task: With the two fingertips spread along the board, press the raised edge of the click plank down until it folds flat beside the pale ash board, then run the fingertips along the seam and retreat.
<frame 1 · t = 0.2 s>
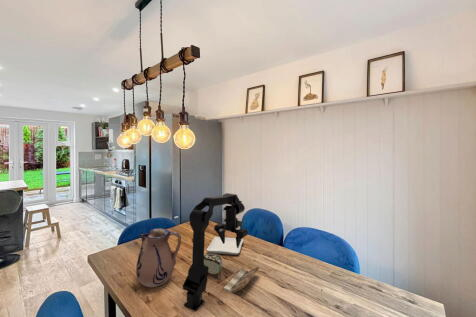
hand: (230, 245, 117), 15 cm above the table, fingers open, 9 cm apart
food container: (214, 275, 115), on the table
ash board: (236, 281, 109), on the table
salad plate: (225, 249, 145), on the table
click plank: (246, 278, 106), point 3 cm above the table, hinge at 40.0°
ceramic pitcher: (159, 281, 109), on the table
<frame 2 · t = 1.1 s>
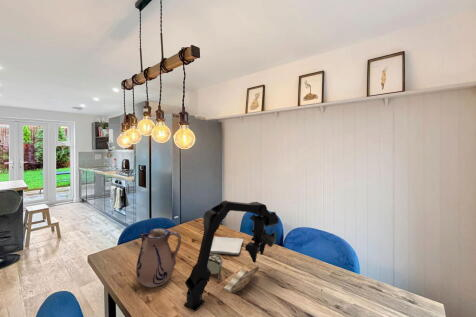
hand: (258, 258, 109), 12 cm above the table, fingers open, 9 cm apart
nothing on the table moved.
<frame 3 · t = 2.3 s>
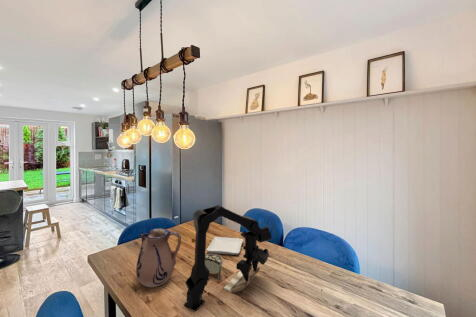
hand: (251, 275, 105), 5 cm above the table
click plank: (246, 279, 106), point 3 cm above the table, hinge at 35.4°, touching gripper
everything else where it was.
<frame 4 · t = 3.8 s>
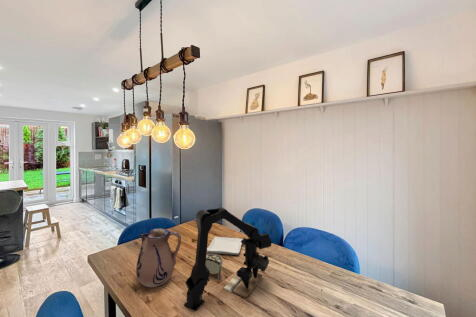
hand: (251, 282, 105), 2 cm above the table
click plank: (248, 283, 106), point 1 cm above the table, hinge at 3.8°, touching gripper
everything else where it was.
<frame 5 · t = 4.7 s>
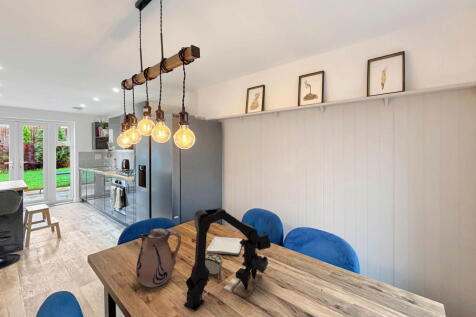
hand: (250, 283, 105), 2 cm above the table, fingers open, 8 cm apart
click plank: (248, 283, 106), point 1 cm above the table, hinge at 1.9°, touching gripper
everything else where it was.
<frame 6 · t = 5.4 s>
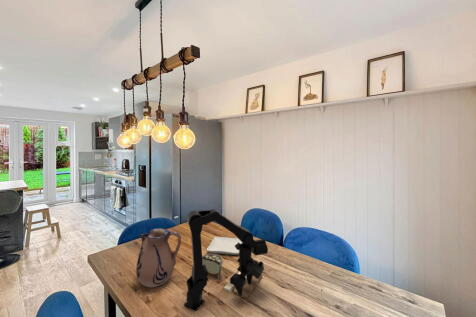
hand: (245, 289, 101), 1 cm above the table, fingers open, 9 cm apart
click plank: (248, 283, 106), point 1 cm above the table, hinge at 0.1°, touching gripper
everything else where it was.
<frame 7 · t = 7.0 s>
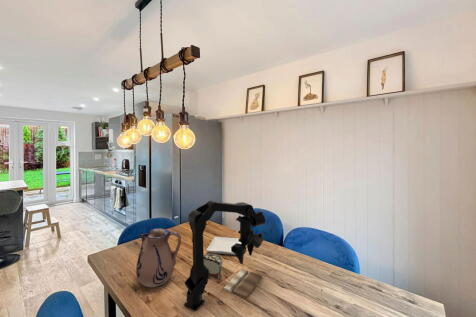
hand: (246, 259, 107), 12 cm above the table, fingers open, 9 cm apart
click plank: (248, 283, 106), point 1 cm above the table, hinge at 0.1°
everything else where it was.
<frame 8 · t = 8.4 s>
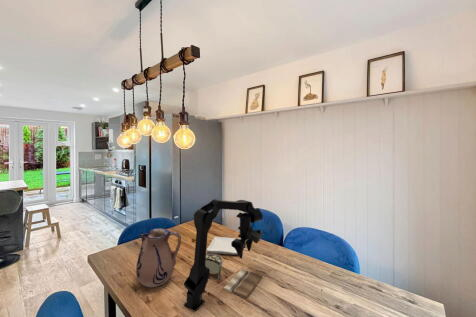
hand: (245, 254, 112), 12 cm above the table, fingers open, 9 cm apart
nothing on the table moved.
at the end: click plank at +0° (first picture: +40°); click plank touching nothing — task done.
